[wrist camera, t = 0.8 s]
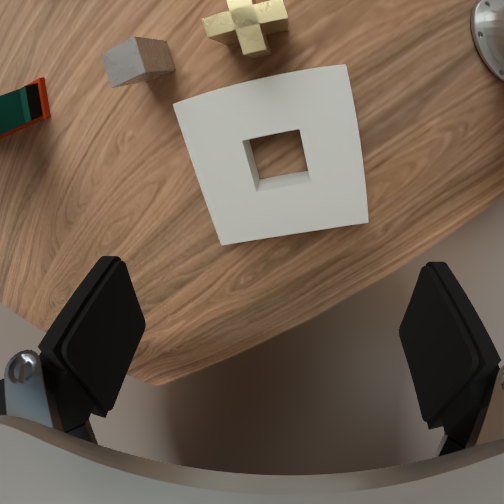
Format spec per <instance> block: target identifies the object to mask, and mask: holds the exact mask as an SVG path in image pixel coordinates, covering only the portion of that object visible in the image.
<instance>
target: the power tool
mask: <svg viewBox="0 0 504 504" xmlns="http://www.w3.org/2000/svg"><path fill="white" fill-rule="evenodd" d="M48 117H51V115H50V110H49V105H48V99H47V93H46V86H45V79H44V77H43V78H39V79H37V80H35V81H33V82H32V83H30V84H28V85H26V86H24V87H22V88H21V89H19V90H16V91H13V92H10V93H7V94H4V95H2V96H0V139H1V138H3V137H5V136H7V135H9V134H12V133H14V132H16V131H18V130H20V129H22V128H25V127H27V126H29V125H31V124H34V123H36V122H38V121H41V120H43V119H46V118H48Z"/></svg>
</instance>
